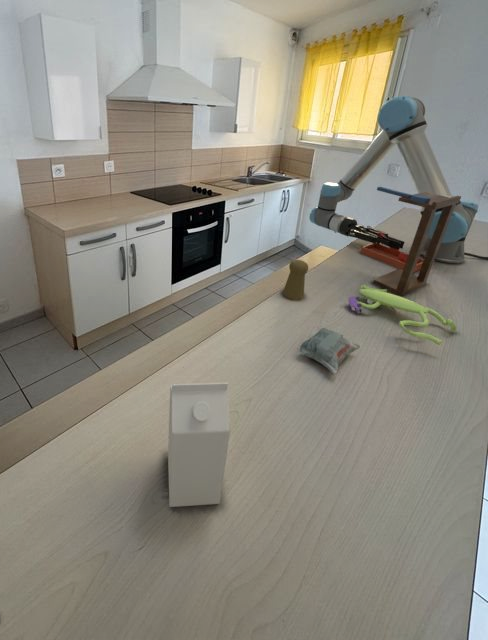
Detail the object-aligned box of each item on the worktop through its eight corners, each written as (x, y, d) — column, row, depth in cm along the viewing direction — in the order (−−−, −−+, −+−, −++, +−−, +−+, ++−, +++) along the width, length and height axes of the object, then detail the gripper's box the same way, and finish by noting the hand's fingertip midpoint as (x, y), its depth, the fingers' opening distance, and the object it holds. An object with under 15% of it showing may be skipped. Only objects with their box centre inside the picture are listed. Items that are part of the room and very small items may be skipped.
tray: (359, 252, 128) (361, 246, 127) (373, 247, 133) (375, 242, 132) (411, 273, 113) (413, 267, 112) (424, 267, 118) (427, 260, 117)
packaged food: (357, 355, 74) (362, 338, 72) (333, 381, 66) (338, 363, 64) (321, 336, 80) (325, 319, 78) (295, 358, 72) (299, 340, 70)
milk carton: (167, 456, 51) (170, 363, 43) (212, 453, 52) (222, 362, 44) (169, 508, 44) (173, 409, 37) (220, 504, 45) (233, 407, 38)
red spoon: (374, 234, 124) (377, 232, 123) (380, 232, 127) (383, 230, 126) (404, 265, 117) (407, 263, 116) (410, 263, 119) (413, 261, 118)
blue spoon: (373, 190, 101) (374, 186, 100) (382, 189, 103) (384, 185, 102) (423, 203, 88) (424, 198, 88) (432, 202, 90) (434, 197, 90)
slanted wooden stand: (372, 283, 105) (400, 194, 94) (397, 272, 113) (425, 188, 102) (402, 297, 98) (437, 202, 86) (427, 284, 106) (461, 196, 94)
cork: (301, 290, 99) (307, 258, 95) (305, 301, 94) (313, 267, 90) (281, 288, 100) (287, 256, 96) (284, 299, 94) (291, 265, 90)
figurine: (424, 361, 73) (433, 342, 71) (330, 300, 95) (334, 283, 93) (467, 340, 81) (476, 321, 79) (371, 287, 103) (376, 272, 100)
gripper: (351, 230, 142) (408, 251, 124) (331, 236, 135) (388, 258, 117) (355, 214, 139) (414, 233, 121) (335, 219, 132) (394, 239, 114)
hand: (401, 245), depth 119 cm, fingers closed on red spoon, 2 cm apart
